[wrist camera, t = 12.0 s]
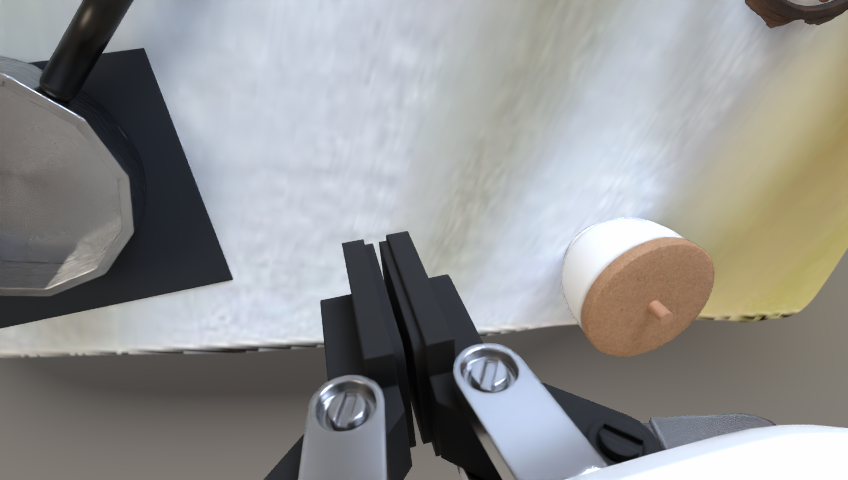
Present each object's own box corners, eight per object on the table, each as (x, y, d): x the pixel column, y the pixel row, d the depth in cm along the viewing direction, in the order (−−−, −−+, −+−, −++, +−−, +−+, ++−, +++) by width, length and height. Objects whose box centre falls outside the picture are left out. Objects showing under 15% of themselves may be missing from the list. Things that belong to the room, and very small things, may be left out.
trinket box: (566, 190, 37) (639, 250, 30) (669, 203, 41) (760, 260, 33) (524, 297, 42) (577, 373, 34) (619, 301, 46) (687, 371, 38)
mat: (-243, 97, 23) (-247, 99, 23) (144, 47, 26) (143, 48, 26) (-42, 335, 31) (-44, 337, 31) (232, 278, 34) (232, 279, 34)
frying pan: (10, -186, 20) (-36, -211, 17) (273, 27, 27) (271, 34, 24) (-168, 195, 26) (-225, 224, 23) (87, 295, 32) (68, 327, 29)
